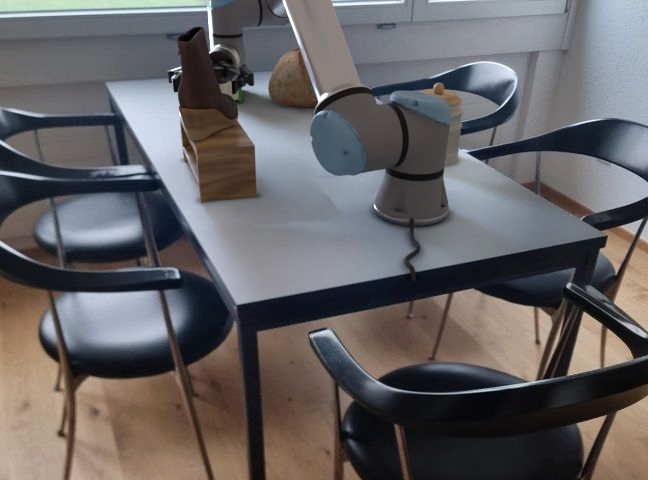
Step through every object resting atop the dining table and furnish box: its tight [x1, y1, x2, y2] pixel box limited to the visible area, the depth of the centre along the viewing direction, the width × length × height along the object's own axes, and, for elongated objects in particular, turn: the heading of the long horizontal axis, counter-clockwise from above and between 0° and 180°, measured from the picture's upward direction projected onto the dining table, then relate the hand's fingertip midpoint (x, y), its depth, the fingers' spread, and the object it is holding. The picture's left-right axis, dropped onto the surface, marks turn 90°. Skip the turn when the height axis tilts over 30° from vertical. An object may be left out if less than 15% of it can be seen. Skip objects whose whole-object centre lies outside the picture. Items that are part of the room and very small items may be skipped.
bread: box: [267, 46, 318, 108], centre depth 208 cm, size 26×23×15 cm
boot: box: [176, 26, 239, 142], centre depth 145 cm, size 9×24×20 cm, turn 169°
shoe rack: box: [178, 111, 258, 203], centre depth 155 cm, size 28×12×11 cm, turn 17°
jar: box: [420, 82, 465, 166], centre depth 165 cm, size 13×13×18 cm
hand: (204, 86), depth 148 cm, fingers open, 12 cm apart
